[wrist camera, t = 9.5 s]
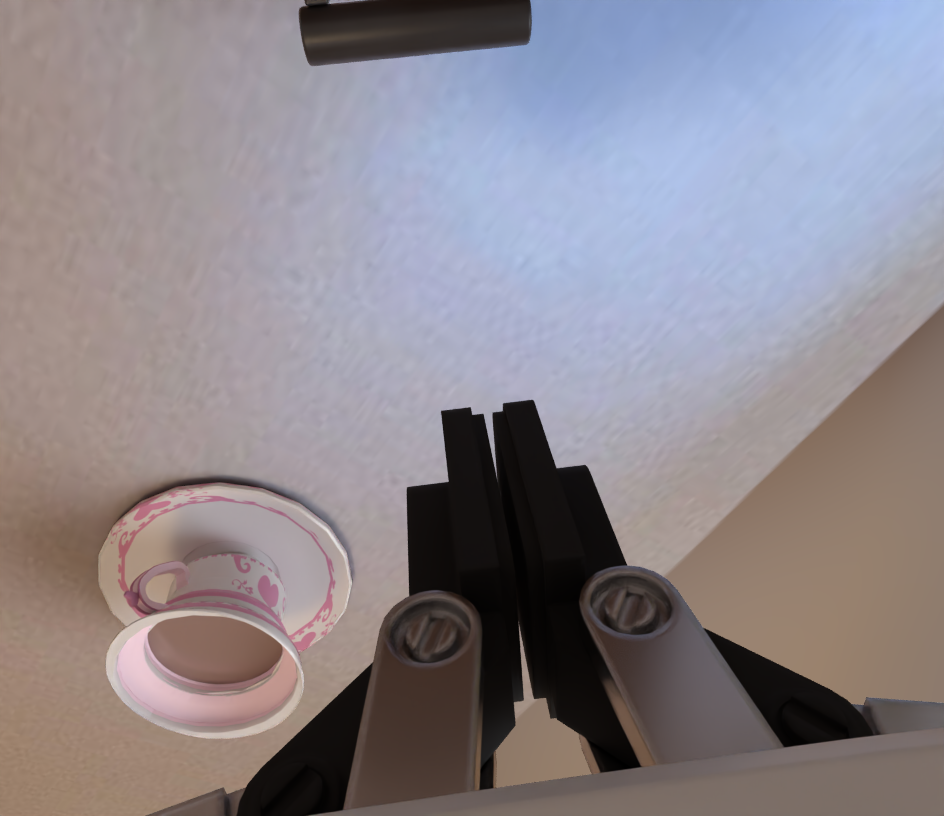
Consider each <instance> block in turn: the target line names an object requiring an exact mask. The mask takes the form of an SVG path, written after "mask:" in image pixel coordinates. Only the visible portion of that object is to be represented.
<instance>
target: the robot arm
mask: <svg viewBox="0 0 944 816" xmlns="http://www.w3.org/2000/svg"><path fill="white" fill-rule="evenodd" d="M441 415H442V424H443V433H444V442H445V451H446V460H447V470H448V479H449V482H445V483H437V484H428V485H420V486H412V487H407V525H408V564H409V597H407V598H405V599H404V600H402V601H401V602H399V603H398V604H396V605H395V606H394V607H393V608H392V609H391V610H390V612H389V613H388V614H387V615H386V616H385V618H384V621H383V623H382V626H381V628H380V631H379V636H378V641H377V646H376V651H375V656H374V661H373V663H372V664H371V665H370V666H368V667H367V668H366V669H365V670H364V671H363V672H362V673H361V674H360V675H359V676H358V677H357V678H356V679H355V680H354V681H353V682H352V683H351V684H349V685H348V686H347V687H346V688H345V689H344V690H343V691H342V692H341V693H340V694H339V695H338V696H337V697H336V698H335V699H334V700H333V701H332V702H330V703H329V704H328V705H327V706H326V707H325V708H324V709H323V710H322V711H321V712H320V713H319V714H318V715H317V716H316V717H315V718H314V719H313V720H311V721H310V722H309V723H308V724H307V725H306V726H305V727H304V728H303V729H302V730H301V731H300V732H299V733H298V734H297V735H296V736H295V737H294V738H292V739H291V740H290V741H289V742H288V743H287V744H286V745H285V746H284V747H283V748H282V749H281V750H280V751H279V752H278V753H277V754H276V755H275V756H273V757H272V758H271V759H270V760H269V761H268V762H267V763H266V764H265V765H264V766H263V767H262V768H261V769H260V770H259V771H258V773H257V774H256V775H255V776H254V777H253V778H252V780H251V781H250V782H249V783H248V785H247V787H246V788H243V789H240V790H238V791H235V792H232V793H230V794H227V793H226V791H225V789H224V787H223V788H220V789H218V790H215V791H212V792H209V793H207V794H204V795H201V796H198V797H196V798H193V799H190V800H187V801H185V802H182V803H179V804H176V805H174V806H171V807H168V808H165V809H163V810H160V811H157V812H155V813H152V814H149V815H146V816H944V703H935V702H922V701H908V700H895V699H881V698H868V697H866V700H865V703H864V705H855V704H851V703H850V702H848V700H846V699H845V698H843V697H841V696H839V695H838V694H837V693H835V692H833V691H832V690H830V689H828V688H826V687H824V686H822V685H820V684H818V683H816V682H814V681H812V680H810V679H808V678H806V677H803V676H801V675H799V674H797V673H795V672H793V671H791V670H789V669H787V668H785V667H783V666H781V665H779V664H777V663H775V662H773V661H771V660H769V659H766V658H764V657H762V656H760V655H758V654H756V653H754V652H752V651H750V650H748V649H746V648H744V647H742V646H740V645H738V644H736V643H734V642H732V641H730V640H728V639H725V638H723V637H721V636H719V635H717V634H715V633H713V632H711V631H709V630H707V629H705V628H703V627H702V626H701V624H700V623H699V621H698V620H697V618H696V617H695V615H694V614H693V612H692V611H691V609H690V608H689V606H688V605H687V603H686V602H685V601H684V599H683V598H682V596H681V595H680V593H679V592H678V590H677V589H676V588H675V587H674V586H673V585H672V584H671V583H670V582H669V581H668V580H667V579H666V578H664V577H662V576H661V575H659V574H658V573H656V572H654V571H651V570H648V569H645V568H642V567H635V566H627V564H626V561H625V559H624V556H623V554H622V551H621V549H620V546H619V544H618V541H617V539H616V536H615V534H614V531H613V529H612V526H611V524H610V521H609V519H608V516H607V514H606V511H605V509H604V506H603V503H602V501H601V498H600V496H599V493H598V491H597V488H596V486H595V483H594V481H593V478H592V476H591V473H590V471H589V469H588V467H587V466H586V465H581V466H573V467H565V468H557V469H556V466H555V463H554V460H553V457H552V454H551V451H550V448H549V445H548V442H547V439H546V436H545V433H544V430H543V427H542V424H541V421H540V418H539V415H538V412H537V409H536V406H535V403H534V400H527V401H519V402H510V403H503V411H502V412H494V413H493V430H494V442H495V455H496V468H497V477H496V472H495V467H494V462H493V458H492V453H491V448H490V443H489V438H488V433H487V428H486V424H485V419H484V414H477V415H472V412H471V407H469V408H461V409H453V410H444V411H441ZM497 480H498V482H497ZM518 621H519V623H518ZM519 626H520V631H521V636H522V641H523V647H524V652H525V657H526V662H527V667H528V672H529V677H530V683H531V688H532V693H533V697H534V699H539V698H546V699H547V704H548V709H549V713H550V718H557V720H559V721H560V722H562V723H563V724H565V725H566V726H568V727H570V728H571V729H573V730H574V731H576V732H577V733H579V739H580V743H581V747H582V751H583V754H584V756H585V759H586V761H587V763H588V766H589V768H590V771H591V773H592V774H591V775H584V776H577V777H569V778H562V779H556V780H548V781H542V782H534V783H528V784H521V785H513V786H506V787H500V788H496V770H497V769H496V768H497V761H496V751H495V750H496V749H497V748H498V747H499V745H500V744H501V743H502V742H503V740H504V739H505V738H506V737H507V735H508V734H509V733H510V731H511V730H512V729H513V728H514V727H515V712H514V702H517V701H523V700H524V696H523V681H522V667H521V652H520V637H519Z"/></svg>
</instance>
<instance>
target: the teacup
mask: <svg viewBox="0 0 944 816" xmlns="http://www.w3.org/2000/svg"><path fill="white" fill-rule="evenodd" d="M98 583H99V587H100V589H101V591H102V593H103V595H104V598H105V600H106V602H107V604H108V606H109V608H110V610H111V612H112V613H113V614H114V615H115V616H116V617H117V618H118V619H119V620H120V621H121V622H122V623H123V624H124V625H125V626H126V627H125V628H124V629H123V630H121V631H120V632H119V633H118V634H117V635H116V637H115V638H114V639H113V641H112V642H111V644H110V646H109V648H108V651H107V654H106V660H105V668H106V673H107V677H108V680H109V682H110V684H111V686H112V688H113V690H114V691H115V693H116V694H117V695H118V697H119V698H120V699H121V700H122V701H123V702H124V703H125V704H126V705H127V706H128V707H129V708H130V709H132V710H133V711H134V712H135V713H137V714H138V715H140V716H141V717H143V718H144V719H146V720H148V721H150V722H152V723H154V724H156V725H158V726H160V727H163V728H165V729H168V730H171V731H174V732H177V733H181V734H184V735H189V736H194V737H200V738H210V739H231V738H240V737H246V736H251V735H255V734H258V733H261V732H264V731H267V730H269V729H271V728H273V727H275V726H277V725H278V724H280V723H281V722H283V721H284V720H285V719H286V718H287V717H289V716H290V714H291V713H292V712H293V711H294V710H295V708H296V707H297V705H298V703H299V701H300V699H301V697H302V693H303V689H304V677H303V671H302V664H301V659H300V654H299V652H301V651H304V650H305V649H307V648H308V647H309V646H311V645H312V644H314V643H315V642H317V641H318V640H319V639H321V638H322V637H324V636H325V635H327V634H328V633H329V632H330V631H331V629H332V628H333V627H334V625H335V624H336V623H337V621H338V620H339V618H340V617H341V616H342V614H343V613H344V612H345V610H346V607H347V603H348V598H349V594H350V590H351V585H352V576H351V571H350V566H349V561H348V556H347V552H346V550H345V549H344V547H343V546H342V544H341V543H340V541H339V540H338V538H337V537H336V535H335V534H334V532H333V531H332V529H331V528H330V526H329V525H328V524H326V523H325V522H324V521H322V520H321V519H320V518H319V517H317V516H316V515H315V514H313V513H312V512H311V511H309V510H308V509H307V508H305V507H304V506H303V505H302V504H300V503H298V502H296V501H293V500H291V499H288V498H286V497H283V496H281V495H278V494H276V493H273V492H271V491H268V490H266V489H263V488H258V487H251V486H243V485H236V484H229V483H221V482H217V483H207V484H198V485H189V486H180V487H175V488H173V489H170V490H168V491H165V492H163V493H160V494H158V495H155V496H153V497H150V498H148V499H145V500H143V501H140V502H139V503H138V504H137V505H136V506H134V507H133V508H132V509H131V510H130V511H129V512H127V513H126V514H125V515H124V516H123V517H122V518H120V519H119V520H118V521H117V522H116V523H115V524H114V525H113V527H112V529H111V531H110V533H109V535H108V537H107V539H106V541H105V543H104V545H103V547H102V549H101V551H100V553H99V555H98Z"/></svg>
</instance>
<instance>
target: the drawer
mask: <svg viewBox="0 0 944 816" xmlns="http://www.w3.org/2000/svg"><path fill="white" fill-rule="evenodd" d="M329 1H330V0H305V4H306V5H307V6H302V7H301V8H300V9H299V23H300V30H301V36H302V42H303V47H304V51H305V55H306V58H307V61H308V63H309V65H311V66H319V65H329V64H339V63H349V62H359V61H369V60H379V59H389V58H399V57H409V56H419V55H429V54H440V53H450V52H460V51H470V50H480V49H490V48H500V47H510V46H520V45H526V44H528V43H529V41H530V37H531V26H532V16H531V2H530V0H365V1H355V2H344V3H334V4H328V3H329Z"/></svg>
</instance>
